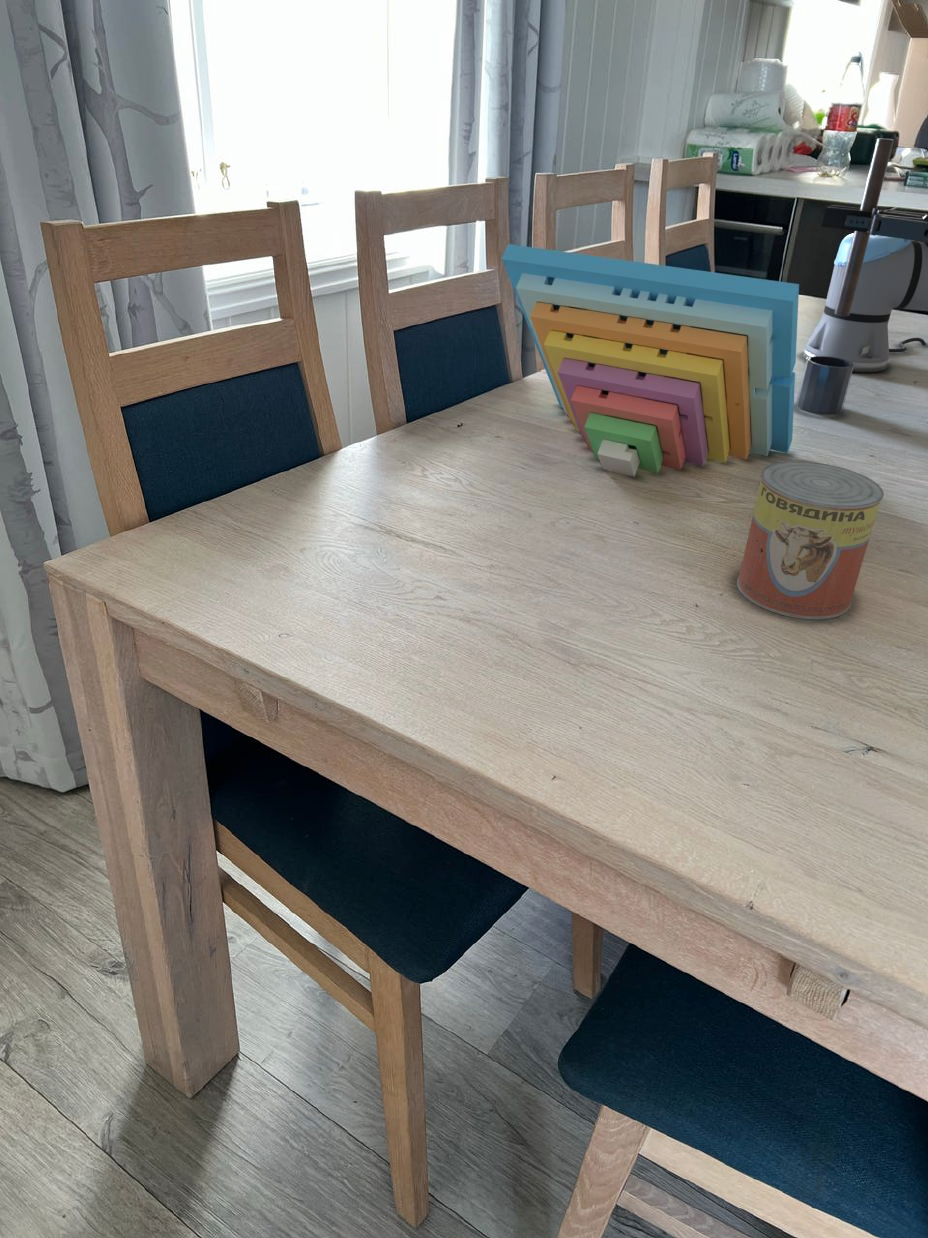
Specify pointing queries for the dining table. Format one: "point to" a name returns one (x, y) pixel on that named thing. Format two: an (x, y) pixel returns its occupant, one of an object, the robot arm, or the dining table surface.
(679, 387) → the rainbow stepped pyramid
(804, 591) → the canned food
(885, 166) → the stick
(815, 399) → the holder
